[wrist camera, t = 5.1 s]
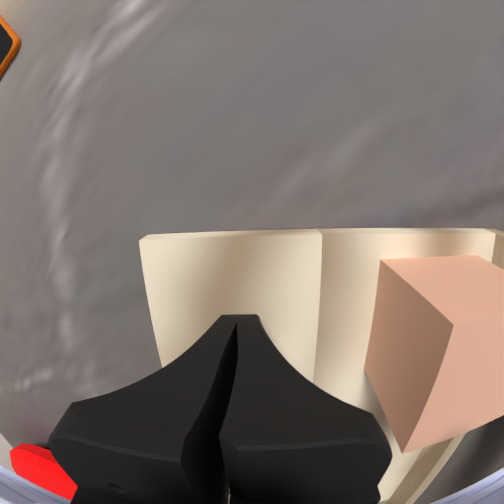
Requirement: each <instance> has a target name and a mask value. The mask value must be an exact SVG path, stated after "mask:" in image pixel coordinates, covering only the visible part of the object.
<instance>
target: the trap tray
mask: <svg viewBox="0 0 504 504" xmlns="http://www.w3.org/2000/svg"><path fill="white" fill-rule="evenodd" d="M139 245H140V253H141V260H142V267H143V273H144V280H145V286H146V292H147V297H148V303H149V308H150V314H151V319H152V324H153V328H154V333H155V338H156V342H157V347H158V351H159V356H160V360H161V364H162V368H163V367H165V366H166V365H168V364H169V363H171V362H172V361H174V360H175V359H176V358H178V357H179V356H180V355H182V354H183V353H184V352H185V351H186V350H187V349H189V348H190V347H191V346H192V345H193V344H194V343H195V342H196V341H197V340H198V339H199V338H200V337H201V336H202V335H203V334H204V333H205V332H206V331H207V330H208V329H209V328H210V327H211V326H212V324H213V323H214V322H215V321H216V320H217V319H218V318H219V317H220V316H221V315H231V314H257V315H258V316H259V317H260V321H261V323H262V325H263V327H264V329H265V331H266V333H267V335H268V336H269V338H270V339H271V341H272V342H273V344H274V345H275V346H276V348H277V349H278V350H279V352H280V353H281V354H282V355H283V356H284V358H285V359H286V360H287V361H288V362H289V363H290V364H291V365H292V366H293V367H294V368H295V369H296V370H297V371H298V372H299V373H300V374H302V375H303V376H304V377H305V378H306V379H308V380H309V381H310V382H312V383H313V384H315V385H316V386H318V387H319V388H320V389H322V390H324V391H325V392H327V393H329V394H330V395H332V396H334V397H336V398H338V399H340V400H342V401H344V402H346V403H348V404H351V405H353V406H356V407H358V408H360V409H363V410H365V411H368V412H370V413H372V414H373V415H374V417H375V418H376V420H377V422H378V423H379V425H380V426H381V428H382V430H383V432H384V433H385V435H386V437H387V439H388V442H389V444H390V447H391V450H392V455H393V457H392V460H391V463H390V465H389V467H388V469H387V471H386V472H385V474H384V476H383V478H382V479H381V481H380V483H379V484H378V489H379V492H380V495H381V500H380V501H379V502H378V504H413V503H414V502H415V500H416V499H417V498H418V497H419V496H420V495H421V494H422V492H423V491H424V490H425V489H426V488H427V486H428V485H429V484H430V483H431V482H432V480H433V479H434V478H435V476H436V475H437V474H438V473H439V471H440V470H441V469H442V467H443V466H444V465H445V463H446V462H447V460H448V459H449V458H450V456H451V455H452V453H453V452H454V450H455V449H456V447H457V446H458V444H459V443H460V441H461V440H462V438H463V437H464V435H465V433H463V434H461V435H458V436H455V437H453V438H450V439H448V440H445V441H442V442H439V443H436V444H433V445H430V446H427V447H424V448H421V449H417V450H414V451H411V452H407V453H404V454H402V453H401V451H400V448H399V446H398V444H397V441H396V439H395V436H394V434H393V432H392V429H391V427H390V425H389V422H388V420H387V418H386V416H385V413H384V411H383V409H382V406H381V404H380V402H379V400H378V398H377V395H376V393H375V391H374V389H373V387H372V384H371V382H370V380H369V378H368V376H367V374H366V371H365V369H364V364H365V360H366V354H367V349H368V344H369V338H370V332H371V326H372V320H373V314H374V307H375V299H376V292H377V283H378V274H379V265H380V259H397V258H420V257H441V256H461V255H477V256H479V257H481V258H483V259H485V260H487V261H489V262H491V263H492V264H494V265H496V266H498V267H500V268H502V269H503V270H504V232H502V231H500V230H497V229H478V228H343V229H290V230H253V231H223V232H196V233H173V234H152V235H147V236H146V237H144V238H143V239H141V240H140V241H139ZM229 499H230V495H229Z"/></svg>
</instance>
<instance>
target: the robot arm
mask: <svg viewBox="0 0 504 504" xmlns="http://www.w3.org/2000/svg"><path fill="white" fill-rule="evenodd" d="M48 445H49V448H50V451H51V454H52V455H53V457H54V458H55V460H56V461H57V462H58V464H59V465H60V466H61V467H62V469H63V470H64V471H65V472H66V474H67V475H68V476H69V477H70V478H71V479H72V481H73V482H74V483H75V484H76V485H77V486H78V487H77V489H76V492H75V494H74V496H73V498H72V500H68V499H66V498H63V497H61V496H59V495H57V494H54V493H52V492H50V491H48V490H46V489H44V488H42V487H40V486H38V485H36V484H34V483H32V482H30V481H28V480H26V479H24V478H22V477H21V476H19V475H17V474H15V473H13V472H12V471H10V470H8V469H7V468H5V467H3V466H2V465H0V504H378V502H379V501H380V500H381V495H380V492H379V489H378V484H379V483H380V481H381V479H382V478H383V476H384V474H385V472H386V471H387V469H388V467H389V465H390V463H391V460H392V457H393V455H392V450H391V447H390V444H389V442H388V439H387V437H386V435H385V433H384V432H383V430H382V428H381V426H380V425H379V423H378V422H377V420H376V418H375V417H374V415H373V414H372V413H370V412H368V411H365V410H363V409H360V408H358V407H356V406H353V405H351V404H348V403H346V402H344V401H342V400H340V399H338V398H336V397H334V396H332V395H330V394H329V393H327V392H325V391H324V390H322V389H320V388H319V387H318V386H316V385H315V384H313V383H312V382H310V381H309V380H308V379H306V378H305V377H304V376H303V375H302V374H300V373H299V372H298V371H297V370H296V369H295V368H294V367H293V366H292V365H291V364H290V363H289V362H288V361H287V360H286V359H285V358H284V356H283V355H282V354H281V353H280V352H279V350H278V349H277V348H276V346H275V345H274V344H273V342H272V341H271V339H270V338H269V336H268V335H267V333H266V331H265V329H264V327H263V325H262V323H261V321H260V317H259V316H258V315H257V314H231V315H221V316H220V317H219V318H218V319H217V320H216V321H215V322H214V323H213V324H212V326H211V327H210V328H209V329H208V330H207V331H206V332H205V333H204V334H203V335H202V336H201V337H200V338H199V339H198V340H197V341H196V342H195V343H194V344H193V345H192V346H191V347H190V348H189V349H187V350H186V351H185V352H184V353H183V354H182V355H180V356H179V357H178V358H176V359H175V360H174V361H172V362H171V363H169V364H168V365H166V366H165V367H163V368H162V369H160V370H158V371H157V372H155V373H153V374H151V375H149V376H147V377H145V378H144V379H142V380H140V381H138V382H136V383H134V384H131V385H129V386H127V387H124V388H122V389H119V390H116V391H114V392H111V393H108V394H105V395H102V396H98V397H94V398H90V399H86V400H82V401H78V402H73V403H71V405H70V406H69V408H68V409H67V411H66V412H65V414H64V415H63V417H62V418H61V420H60V421H59V423H58V424H57V426H56V427H55V429H54V430H53V432H52V434H51V435H50V437H49V440H48ZM229 487H230V499H229ZM430 504H504V467H503V468H502V469H500V470H498V471H497V472H495V473H493V474H491V475H490V476H488V477H486V478H484V479H482V480H481V481H479V482H477V483H475V484H473V485H471V486H469V487H467V488H465V489H463V490H461V491H458V492H456V493H454V494H452V495H450V496H447V497H445V498H443V499H440V500H438V501H435V502H433V503H430Z"/></svg>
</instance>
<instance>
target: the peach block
mask: <svg viewBox="0 0 504 504" xmlns="http://www.w3.org/2000/svg"><path fill="white" fill-rule="evenodd" d="M364 369H365V371H366V374H367V376H368V378H369V380H370V382H371V384H372V387H373V389H374V391H375V393H376V395H377V398H378V400H379V402H380V404H381V406H382V409H383V411H384V413H385V416H386V418H387V420H388V422H389V425H390V427H391V429H392V432H393V434H394V436H395V439H396V441H397V444H398V446H399V448H400V451H401V453H402V454H404V453H407V452H411V451H414V450H417V449H421V448H424V447H427V446H430V445H433V444H436V443H439V442H442V441H445V440H448V439H450V438H453V437H455V436H458V435H461V434H463V433H466V432H468V431H470V430H473V429H475V428H477V427H480V426H482V425H484V424H486V423H488V422H490V421H493V420H495V419H497V418H499V417H501V416H503V415H504V270H503V269H502V268H500V267H498V266H496V265H494V264H492V263H491V262H489V261H487V260H485V259H483V258H481V257H479V256H477V255H461V256H441V257H420V258H397V259H380V265H379V274H378V283H377V292H376V299H375V307H374V314H373V320H372V326H371V332H370V338H369V344H368V349H367V354H366V360H365V364H364Z"/></svg>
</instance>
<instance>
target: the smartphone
mask: <svg viewBox="0 0 504 504" xmlns="http://www.w3.org/2000/svg"><path fill="white" fill-rule="evenodd" d="M20 45H21V40H20V38H19V37H18V36H17V35H16V33H15V32H14V31H13V30H12V29H11V28H10V26H9V25H8V24H7V23H6V22H5V21H4V19H3V18H2V17H1V16H0V77H1V76H2V74H3V73H4V71H5V69H6V68H7V66H8V65H9V63H10V62H11V60H12V59H13V57H14V56H15V54H16V53H17V51H18V50H19V48H20Z"/></svg>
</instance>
